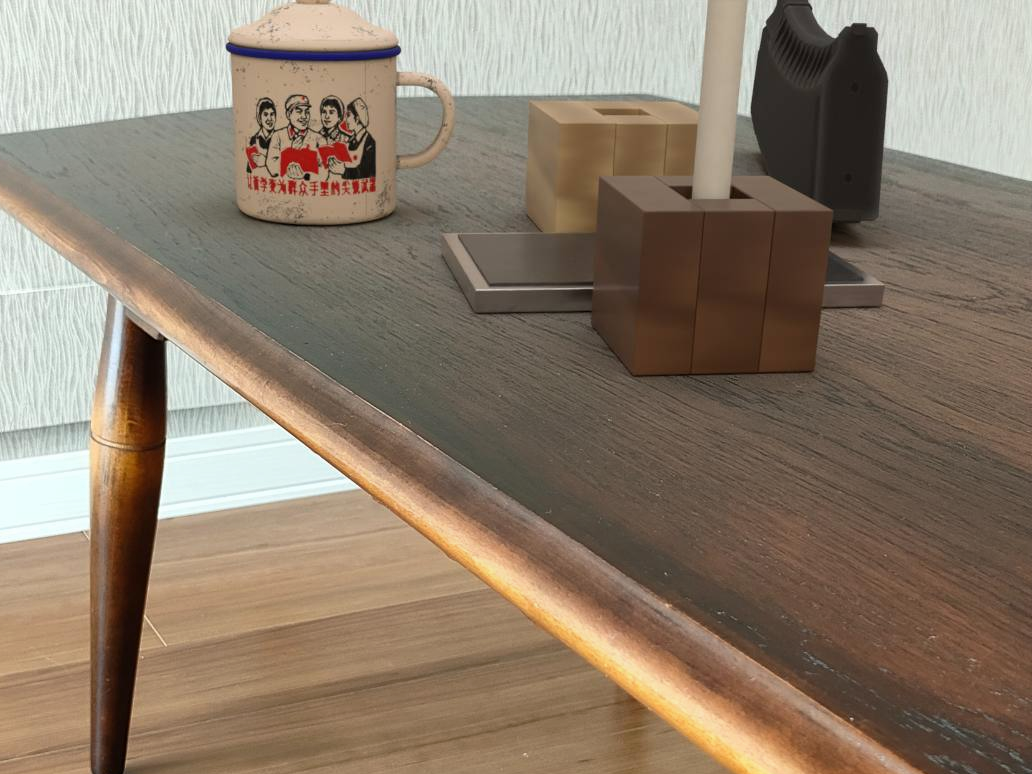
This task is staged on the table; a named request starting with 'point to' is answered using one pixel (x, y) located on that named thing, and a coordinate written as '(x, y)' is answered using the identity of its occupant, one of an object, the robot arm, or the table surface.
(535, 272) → the shallow grey tray
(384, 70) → the teacup with lid
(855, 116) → the ribbed dark grey housing
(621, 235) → the stylus rest
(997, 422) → the table surface
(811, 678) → the table surface
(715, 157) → the stylus
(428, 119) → the table surface
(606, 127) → the pen stand
